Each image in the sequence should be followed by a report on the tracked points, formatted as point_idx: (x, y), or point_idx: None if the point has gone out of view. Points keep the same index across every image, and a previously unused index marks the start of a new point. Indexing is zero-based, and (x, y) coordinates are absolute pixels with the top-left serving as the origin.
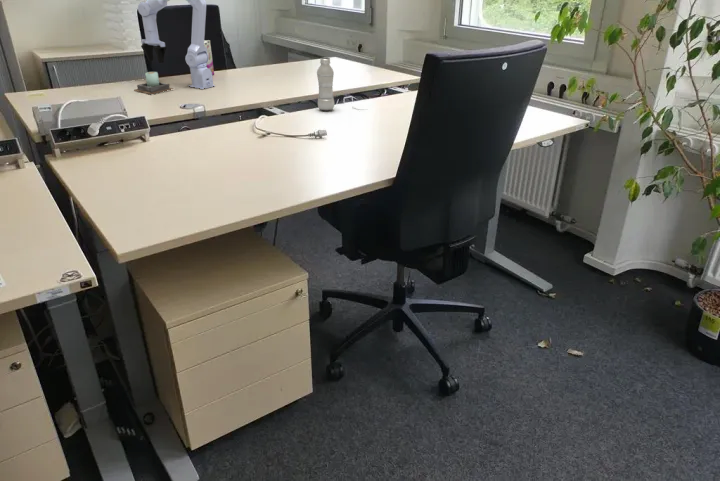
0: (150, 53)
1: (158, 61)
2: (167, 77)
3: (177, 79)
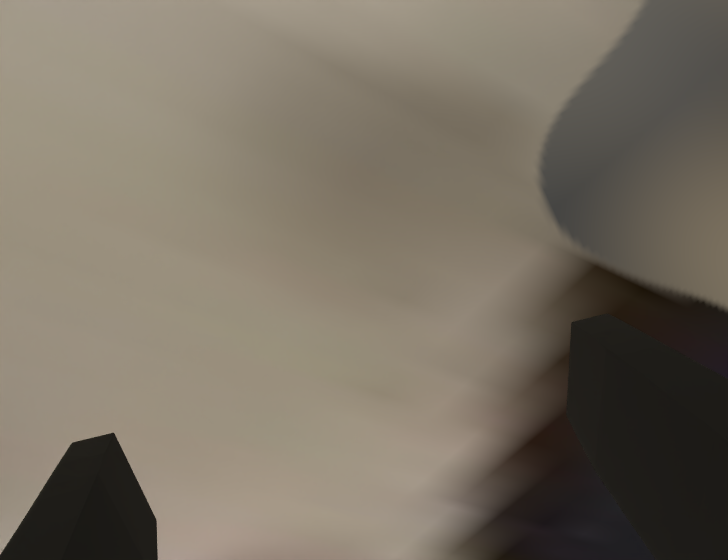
0: (698, 550)
1: (102, 456)
2: (492, 380)
3: (293, 431)
